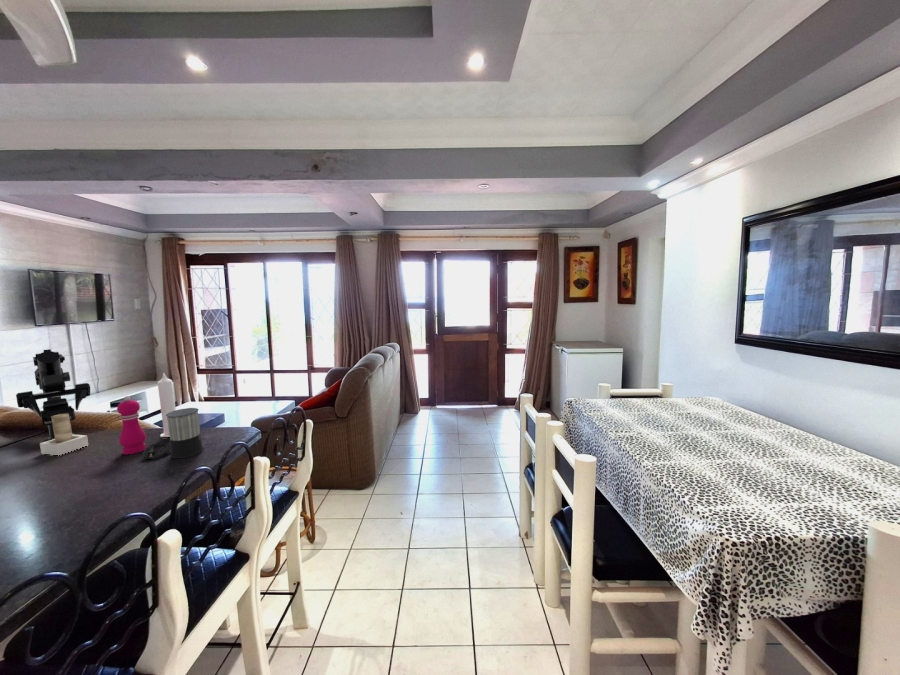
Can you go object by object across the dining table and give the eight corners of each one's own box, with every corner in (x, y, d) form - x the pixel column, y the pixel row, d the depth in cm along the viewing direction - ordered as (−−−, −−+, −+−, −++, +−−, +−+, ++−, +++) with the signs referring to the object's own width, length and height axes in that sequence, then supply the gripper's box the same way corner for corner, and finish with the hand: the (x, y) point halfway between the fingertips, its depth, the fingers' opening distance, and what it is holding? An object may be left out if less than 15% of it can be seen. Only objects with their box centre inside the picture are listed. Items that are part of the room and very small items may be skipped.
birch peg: (54, 451, 134) (48, 416, 132) (71, 446, 138) (65, 412, 136) (60, 453, 132) (54, 417, 130) (76, 448, 136) (71, 414, 134)
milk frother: (206, 452, 128) (201, 410, 126) (148, 469, 116) (142, 423, 115) (195, 442, 138) (191, 403, 136) (141, 456, 126) (135, 414, 124)
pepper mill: (153, 447, 134) (145, 393, 132) (134, 455, 127) (126, 399, 125) (135, 446, 135) (127, 393, 133) (115, 455, 128) (107, 399, 126)
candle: (186, 432, 148) (179, 371, 145) (168, 439, 142) (160, 375, 139) (174, 431, 151) (166, 370, 148) (155, 437, 144) (147, 374, 141)
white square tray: (41, 454, 132) (39, 443, 131) (72, 444, 140) (70, 434, 140) (58, 456, 129) (56, 445, 129) (88, 445, 138) (87, 435, 137)
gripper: (11, 370, 129) (17, 407, 123) (85, 362, 143) (94, 394, 138) (15, 389, 135) (21, 424, 129) (86, 379, 149) (94, 410, 144)
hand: (59, 413), depth 135 cm, fingers open, 9 cm apart
